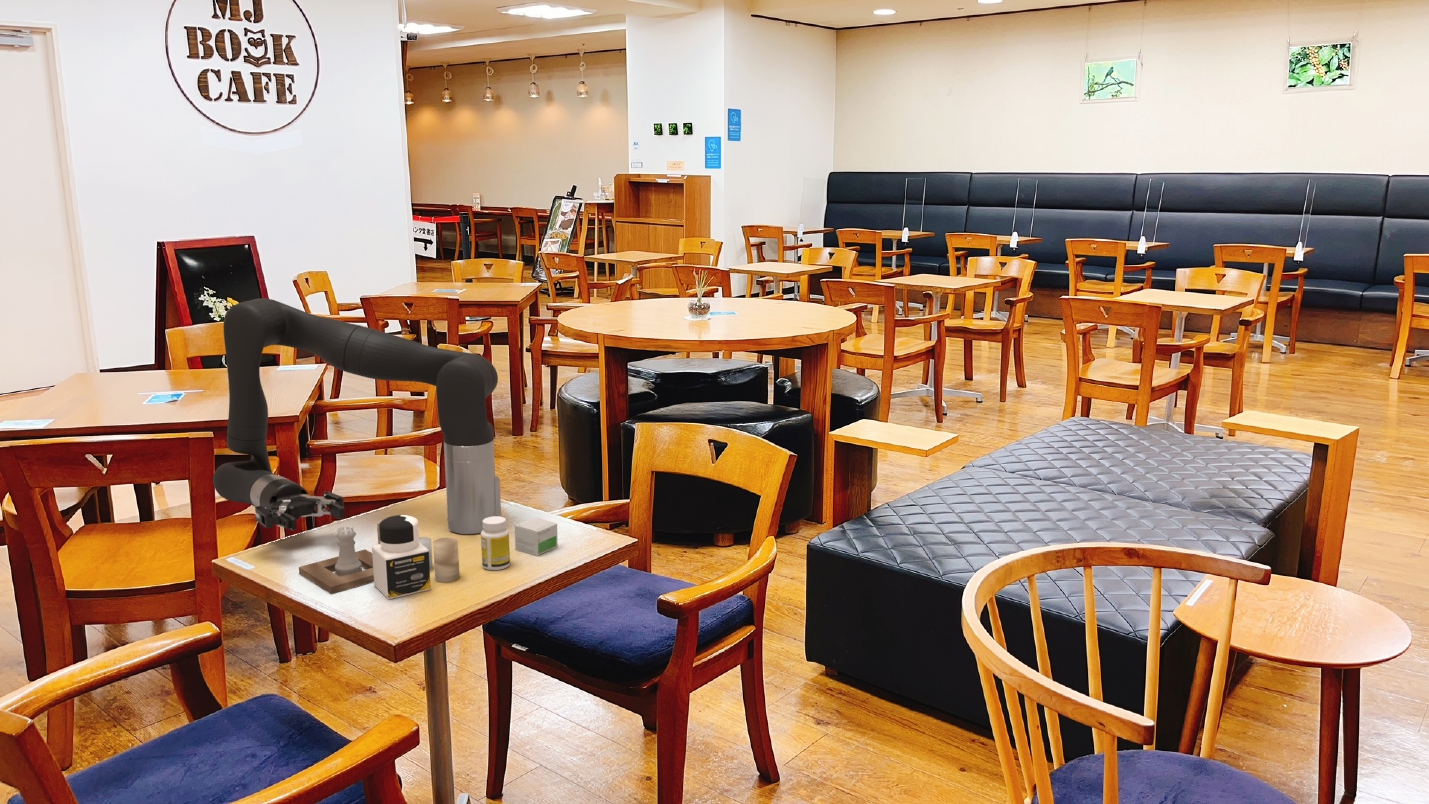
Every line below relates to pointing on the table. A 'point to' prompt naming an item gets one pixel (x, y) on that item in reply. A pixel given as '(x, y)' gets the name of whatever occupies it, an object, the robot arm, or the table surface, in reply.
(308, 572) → the hole board
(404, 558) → the medicine bottle
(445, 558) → the medium beech peg
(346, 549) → the rook chess piece
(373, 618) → the table surface
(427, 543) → the short grey peg
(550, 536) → the small box
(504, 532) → the supplement bottle
